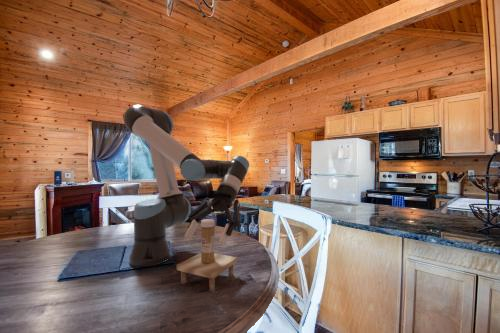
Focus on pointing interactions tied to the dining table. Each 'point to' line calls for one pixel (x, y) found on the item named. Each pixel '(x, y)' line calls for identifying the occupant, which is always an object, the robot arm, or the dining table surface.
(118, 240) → the dining table surface
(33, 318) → the dining table surface
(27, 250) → the dining table surface
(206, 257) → the spice jar
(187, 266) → the stool
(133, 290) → the dining table surface
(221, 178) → the robot arm
